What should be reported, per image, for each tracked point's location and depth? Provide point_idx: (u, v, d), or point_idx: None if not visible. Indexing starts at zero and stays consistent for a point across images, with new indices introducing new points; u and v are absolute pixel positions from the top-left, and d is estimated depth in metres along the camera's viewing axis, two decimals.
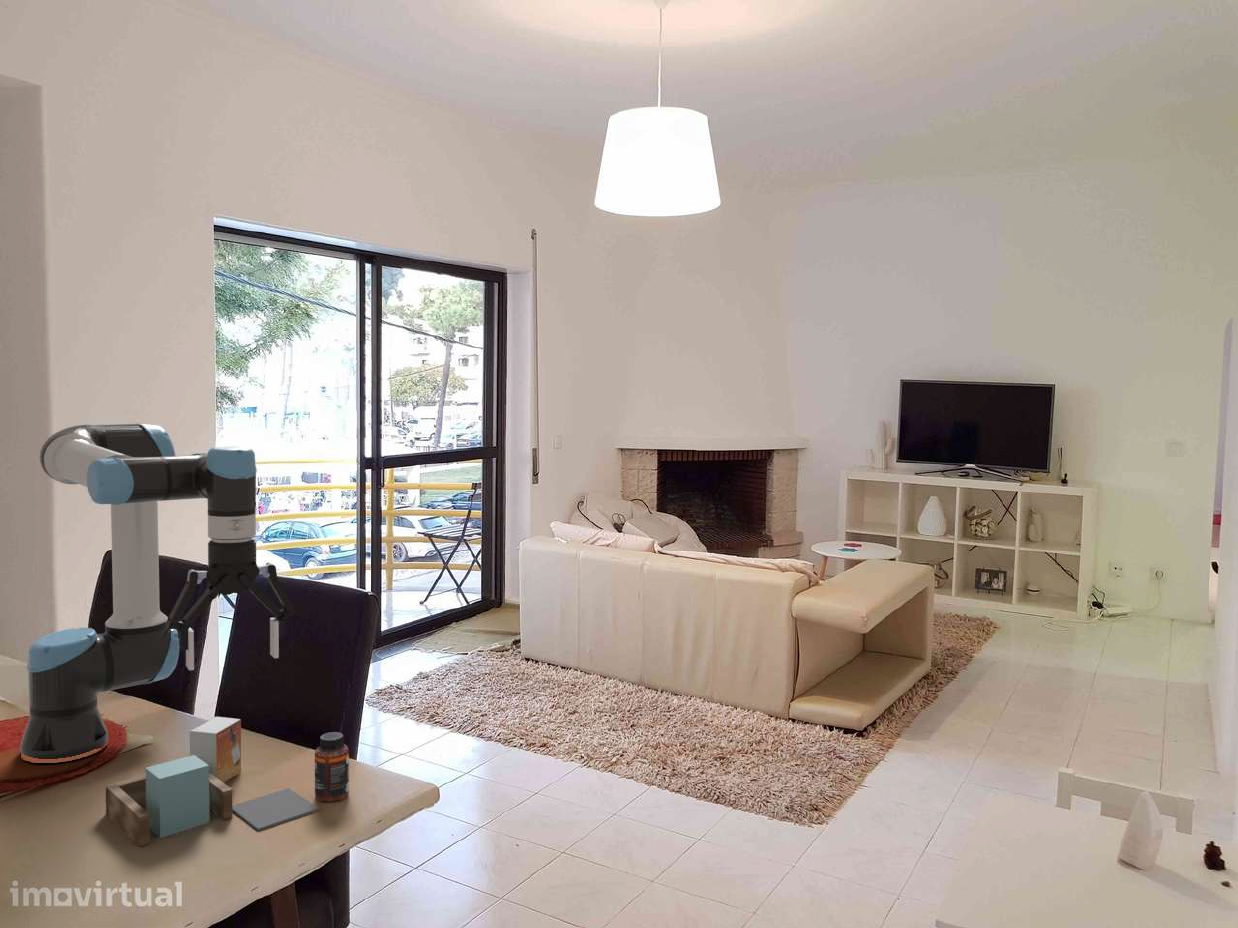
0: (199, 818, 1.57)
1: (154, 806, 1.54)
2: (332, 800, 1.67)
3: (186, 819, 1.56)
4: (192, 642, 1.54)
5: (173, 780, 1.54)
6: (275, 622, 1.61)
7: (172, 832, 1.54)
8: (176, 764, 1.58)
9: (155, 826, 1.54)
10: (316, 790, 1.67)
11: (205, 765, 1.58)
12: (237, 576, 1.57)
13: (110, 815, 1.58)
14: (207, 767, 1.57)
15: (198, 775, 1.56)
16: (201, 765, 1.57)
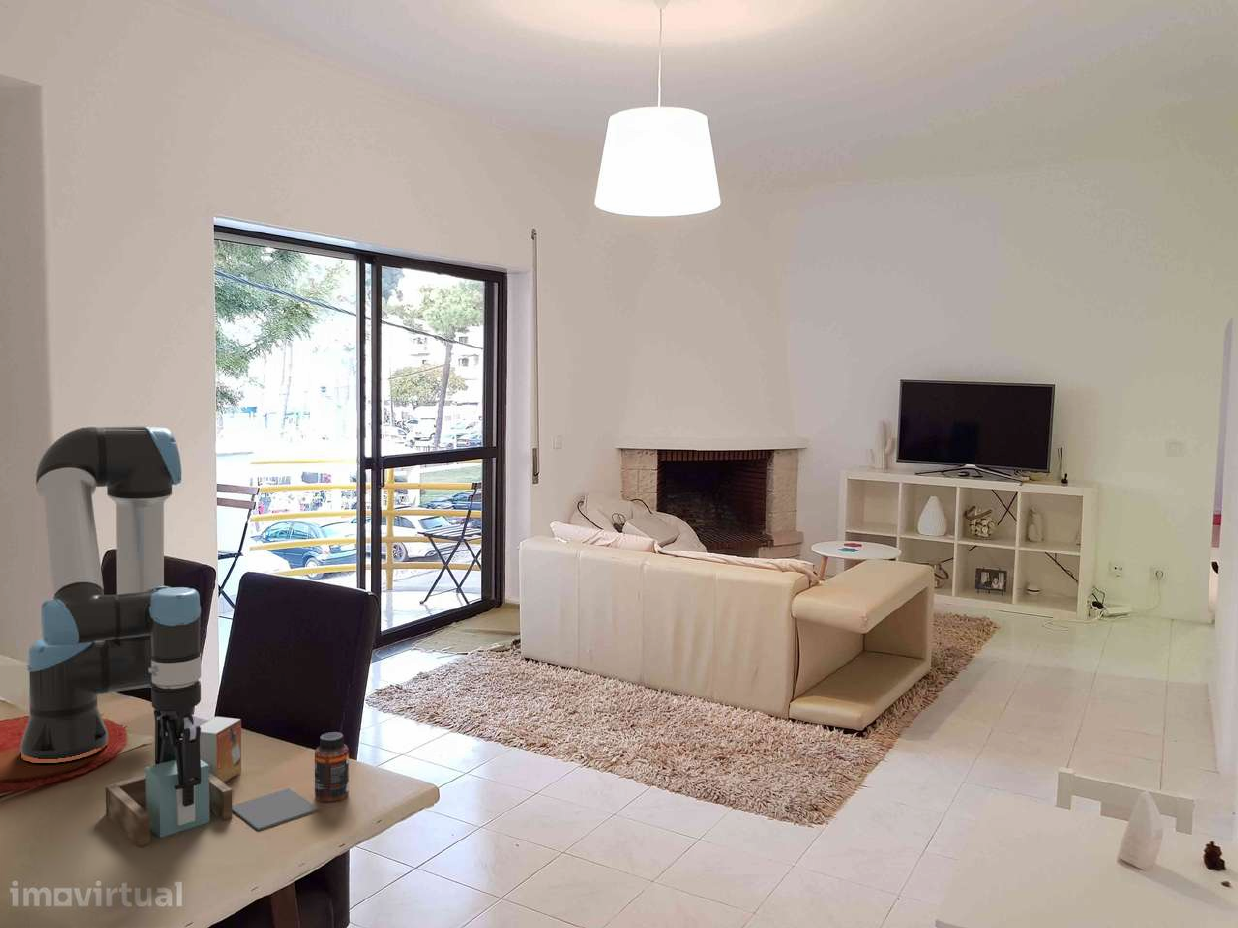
0: (199, 818, 1.57)
1: (154, 805, 1.54)
2: (332, 800, 1.67)
3: None
4: None
5: (173, 780, 1.54)
6: None
7: (172, 832, 1.54)
8: (175, 763, 1.58)
9: (155, 826, 1.54)
10: (316, 790, 1.67)
11: (205, 765, 1.58)
12: (171, 719, 1.55)
13: (110, 815, 1.58)
14: (207, 767, 1.57)
15: None
16: (201, 765, 1.57)
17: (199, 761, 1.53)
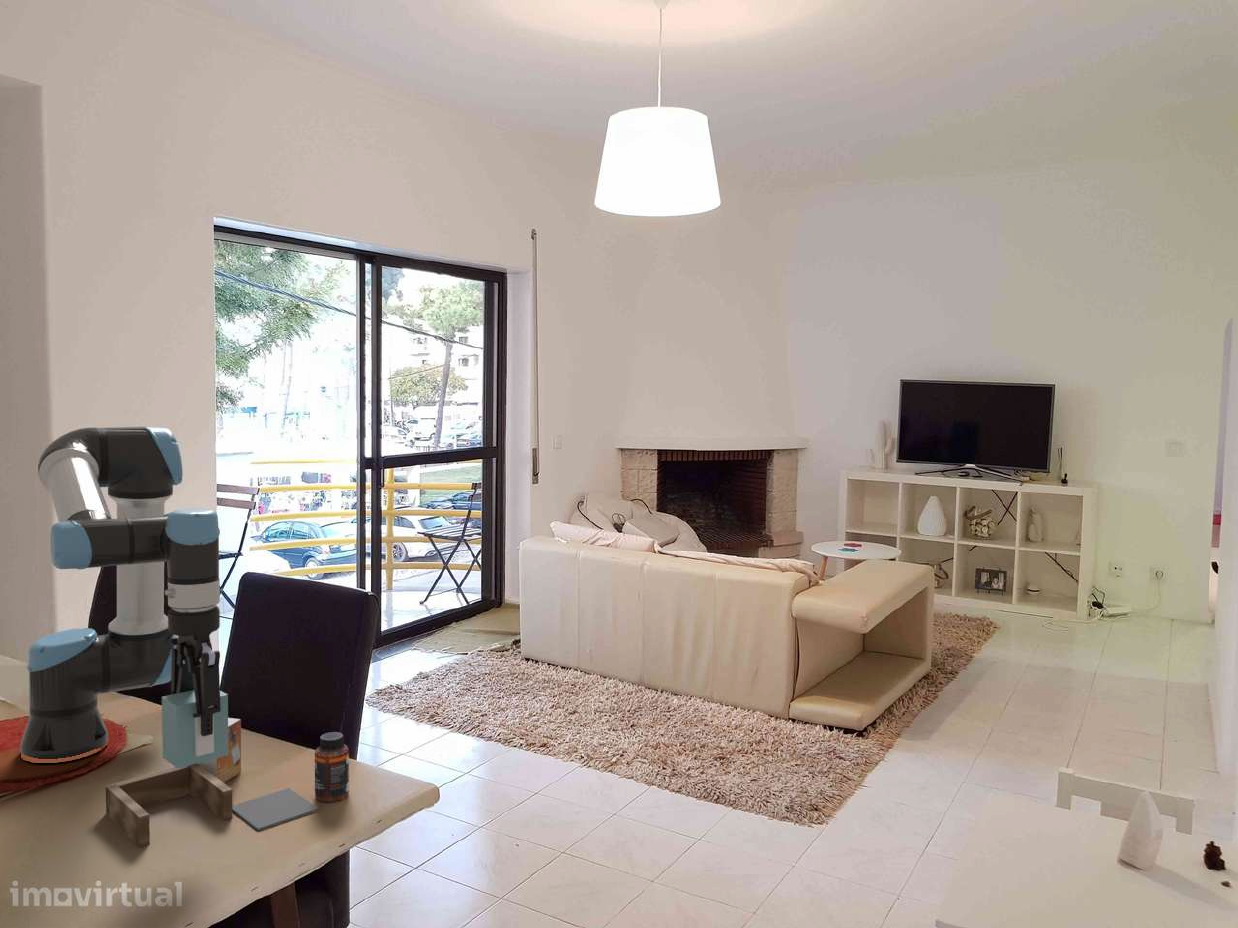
0: (217, 750, 1.50)
1: (171, 735, 1.47)
2: (332, 800, 1.67)
3: None
4: None
5: (191, 709, 1.47)
6: None
7: (190, 763, 1.47)
8: (193, 693, 1.51)
9: (172, 757, 1.47)
10: (316, 790, 1.67)
11: (224, 694, 1.51)
12: (188, 645, 1.48)
13: (110, 815, 1.58)
14: (226, 696, 1.51)
15: None
16: (220, 695, 1.51)
17: (218, 688, 1.46)
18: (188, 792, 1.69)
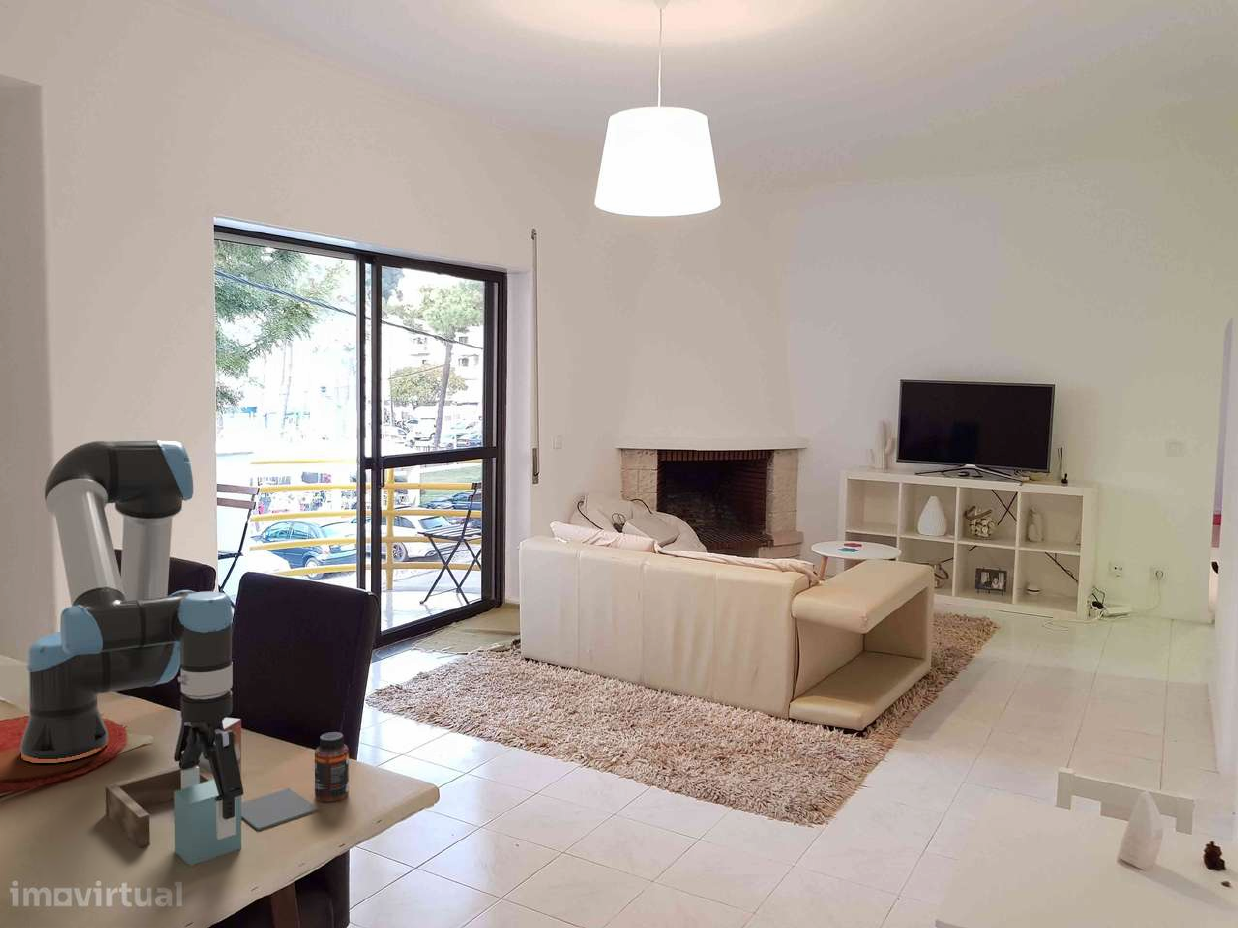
0: (230, 844, 1.49)
1: (183, 831, 1.46)
2: (332, 800, 1.67)
3: (217, 845, 1.47)
4: (182, 782, 1.52)
5: (204, 805, 1.45)
6: None
7: (203, 859, 1.46)
8: (206, 787, 1.49)
9: (184, 853, 1.46)
10: (316, 790, 1.67)
11: None
12: None
13: (110, 815, 1.58)
14: None
15: None
16: None
17: (237, 769, 1.43)
18: None
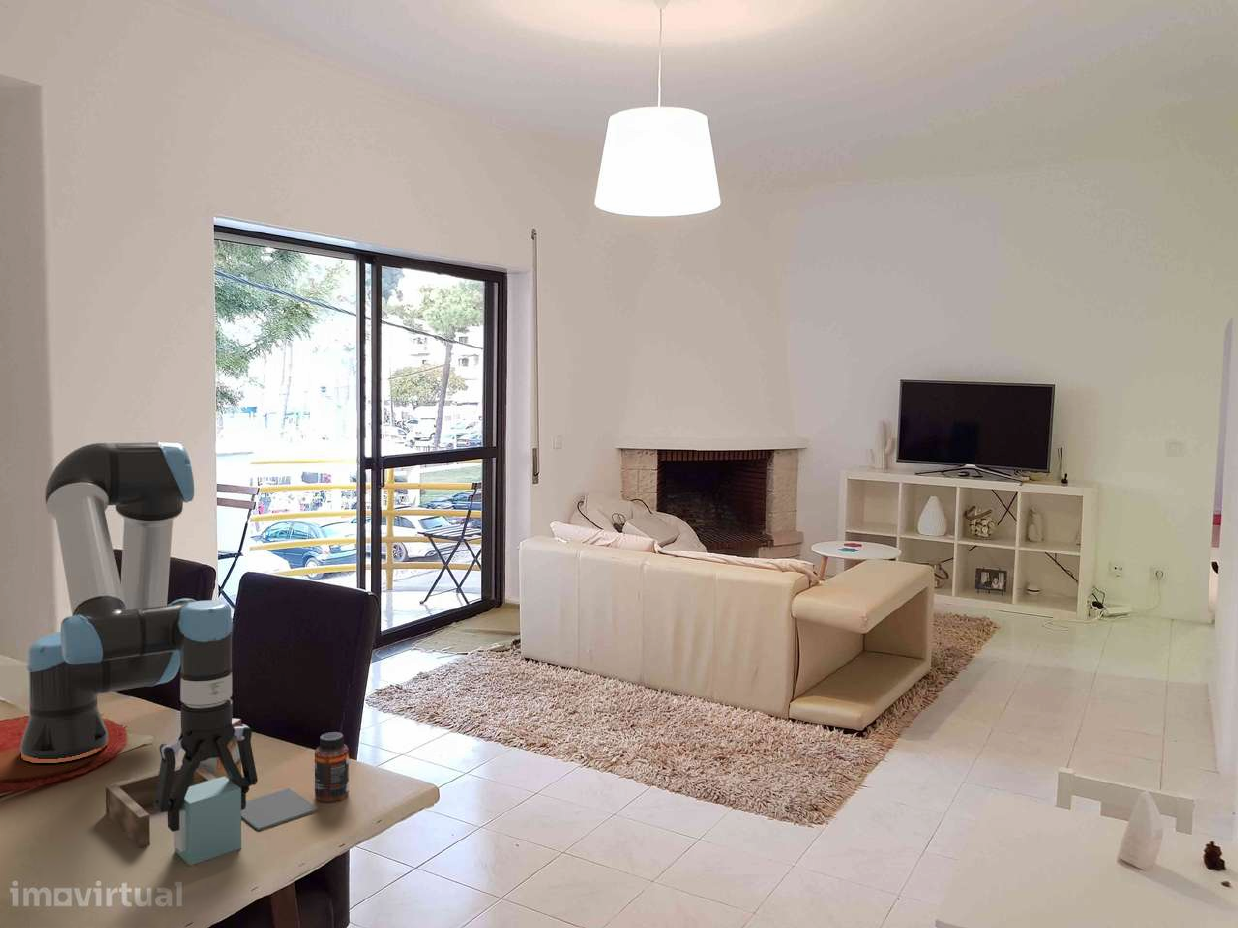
0: (230, 844, 1.49)
1: None
2: (332, 800, 1.67)
3: (217, 845, 1.47)
4: (184, 822, 1.45)
5: (204, 805, 1.45)
6: None
7: (203, 859, 1.46)
8: (206, 786, 1.49)
9: (184, 853, 1.46)
10: (316, 790, 1.67)
11: (237, 788, 1.49)
12: (213, 738, 1.47)
13: (110, 815, 1.58)
14: (239, 790, 1.49)
15: (229, 798, 1.48)
16: (233, 788, 1.49)
17: None
18: None
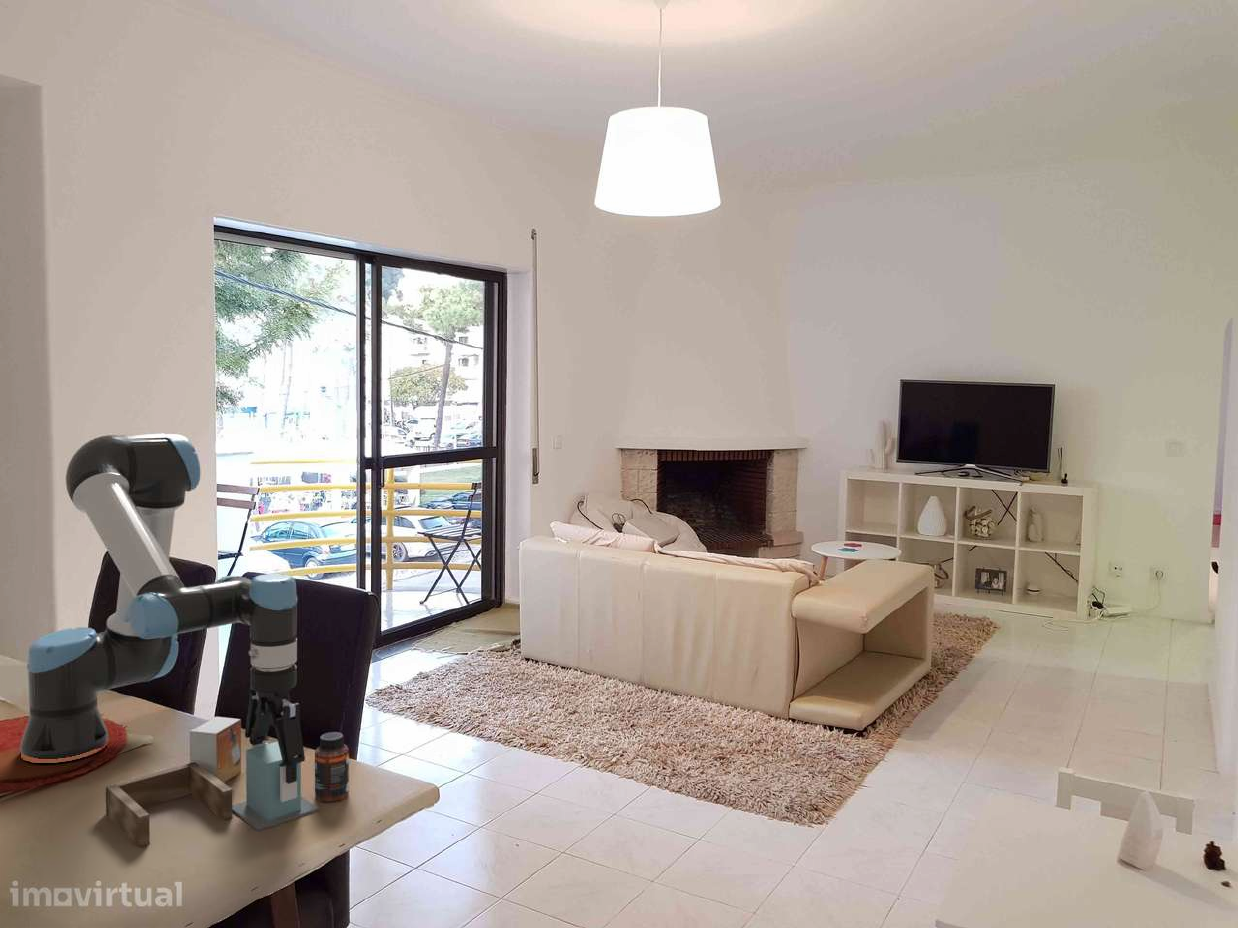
0: (263, 810, 1.60)
1: None
2: (332, 800, 1.67)
3: (257, 803, 1.61)
4: None
5: (252, 759, 1.62)
6: None
7: (251, 807, 1.63)
8: (279, 750, 1.63)
9: None
10: (316, 790, 1.67)
11: (268, 762, 1.58)
12: None
13: (110, 815, 1.58)
14: (267, 765, 1.58)
15: (262, 767, 1.59)
16: (268, 760, 1.59)
17: (301, 738, 1.58)
18: (188, 792, 1.69)
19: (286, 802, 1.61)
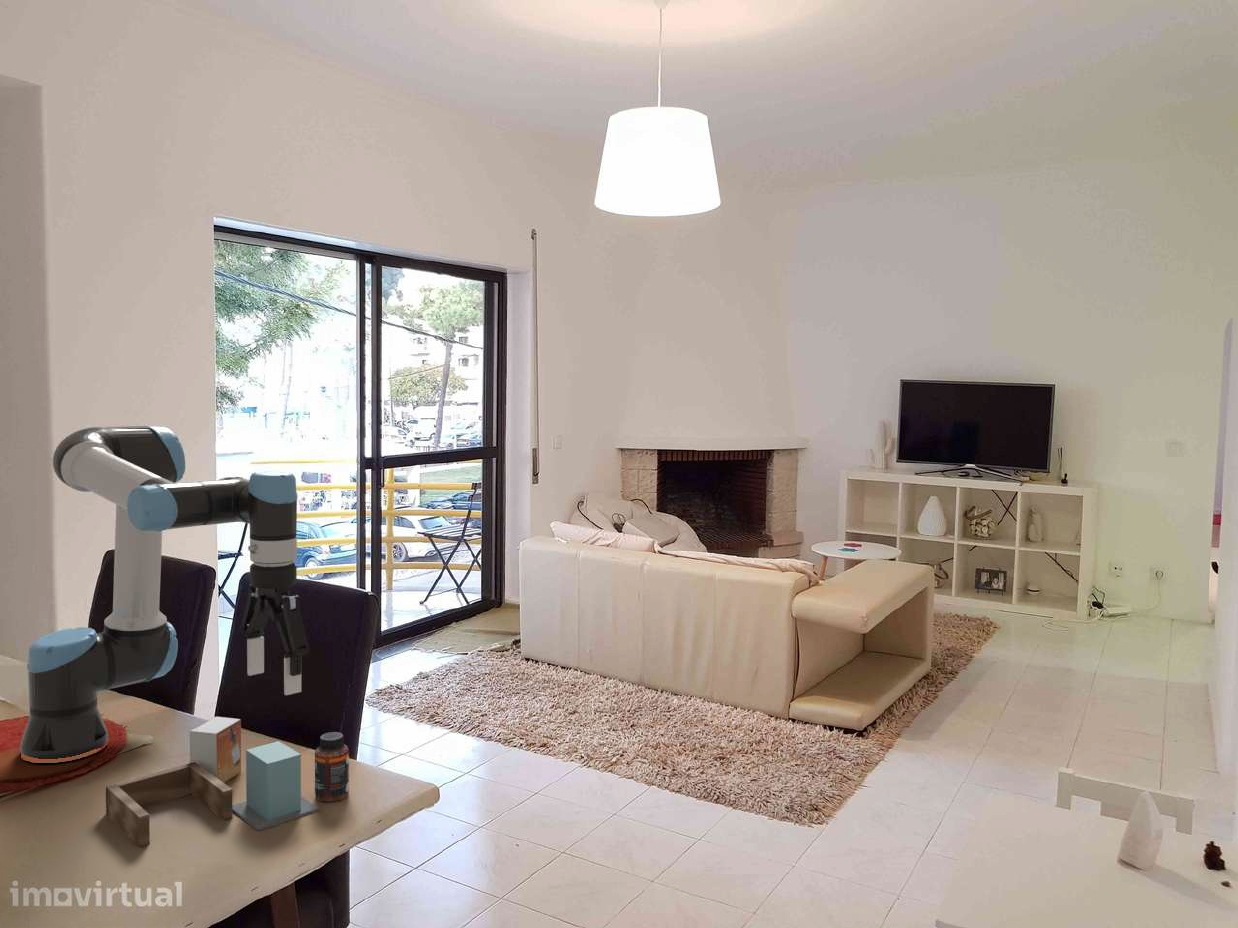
0: (263, 810, 1.60)
1: None
2: (332, 800, 1.67)
3: (257, 803, 1.61)
4: (248, 649, 1.65)
5: (252, 759, 1.62)
6: (284, 657, 1.56)
7: (251, 807, 1.63)
8: (279, 750, 1.63)
9: None
10: (316, 790, 1.67)
11: (268, 762, 1.58)
12: None
13: (110, 815, 1.58)
14: (267, 765, 1.58)
15: (262, 767, 1.59)
16: (268, 760, 1.59)
17: (303, 630, 1.56)
18: (188, 792, 1.69)
19: (286, 802, 1.61)
